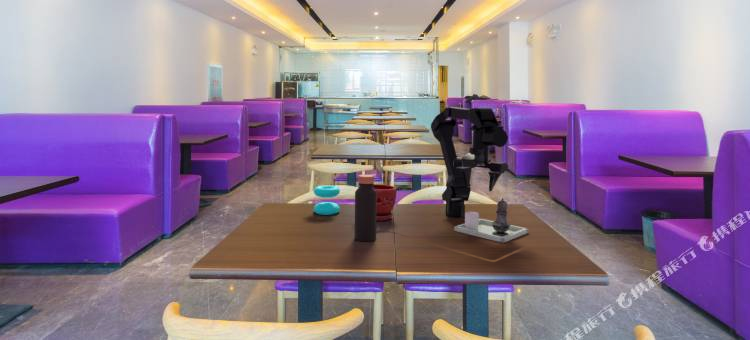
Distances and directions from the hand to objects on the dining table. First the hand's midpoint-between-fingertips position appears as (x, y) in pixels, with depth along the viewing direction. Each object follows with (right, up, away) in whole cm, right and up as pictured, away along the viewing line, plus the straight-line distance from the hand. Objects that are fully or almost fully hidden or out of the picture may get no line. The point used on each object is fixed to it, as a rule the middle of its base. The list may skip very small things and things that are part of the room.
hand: (478, 189), depth 158 cm
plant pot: (-35, -11, +11) cm, 38 cm away
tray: (+2, -14, -8) cm, 16 cm away
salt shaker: (+5, -14, -11) cm, 18 cm away
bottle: (-39, -15, -16) cm, 45 cm away
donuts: (-55, -10, +18) cm, 58 cm away
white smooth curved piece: (-4, -14, -7) cm, 16 cm away
